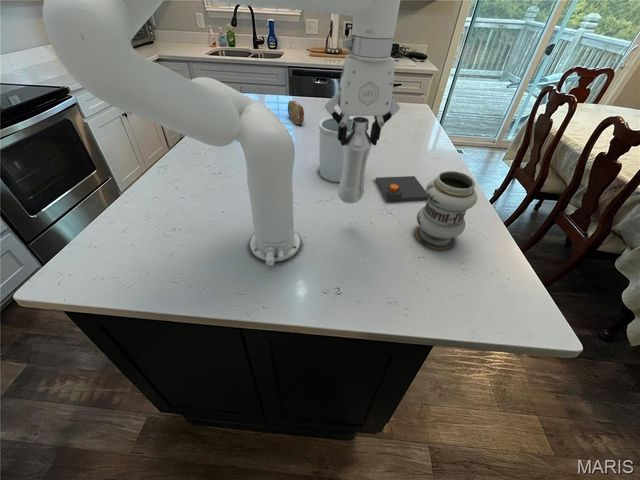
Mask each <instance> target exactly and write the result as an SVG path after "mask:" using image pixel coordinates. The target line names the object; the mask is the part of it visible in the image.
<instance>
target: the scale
mask: <svg viewBox="0 0 640 480" xmlns="http://www.w3.org/2000/svg"><path fill="white" fill-rule="evenodd" d="M374 181H375V183H376V184H377V187H378V189H379V192H380V193H381V194H382V196H383V198H384V200H385V202H386V203H393V202H394V203H395V202H417V201H418V202H419V201H427V200H428V197H427V195H426V189H425V188H424V187H423V185H422V184H421V183H420V182H419V180H418V179H417V178H416V176H415V175H410V176H409V175H408V176H381V177H380V176H379V177H375V180H374ZM391 184H396V185H398V191H397V192H391V191H389V189H390V185H391Z"/></svg>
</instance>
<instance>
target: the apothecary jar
mask: <svg viewBox="0 0 640 480" xmlns="http://www.w3.org/2000/svg"><path fill="white" fill-rule="evenodd" d="M475 187H476V181H475V180H474V178H473V177H471V176H470V175H468V174H466V173H464V172H461V171H455V170H447V171H442V172H440V173H439V174H437V177H436V178H435V179H433V180H431V181H429V183H428V184H427V185H426V188H425V191H426V195H427V197H428V200H426V202H425V205H424V206H423V207H422V208H420V209H419V210H418V212H417V213H416V214H417V215H416V222H417V225H418V227H417V228H416V231H415V236H416V239H417V240H418V241H419V242H420V243H422V244H425V246H426V247H428V248H432V249H434V250H445V249H448V248H450V247H451V246H452V245H453V243H454V238H456V237H458V236H460V235H462V233H464V231H465V230H466V220H465V215H466V212H467V211H468V210H469V209H471V208H473V207H474V206H475V205H476V203H477V202H478V193H477V191H476V189H475Z"/></svg>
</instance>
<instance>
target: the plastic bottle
mask: <svg viewBox="0 0 640 480" xmlns="http://www.w3.org/2000/svg"><path fill="white" fill-rule="evenodd" d="M353 117H354V118H353V119H352V125H351V129H352V130H351V131H350V132H349V134H348V135H347V136H346V143H345V145H344V146H343V155H344V160H343V172H342V177H341V181H340V182H339V183H338V189H337V193H338V194H337V195H338V197H339V199H340V201H342V202H343V203H346V204H356V203H359V202H360V201H361V200H362V198H363V196H364V193H365V186H364V185H365V184H364V183H365V172H366V167H367V162H368V158H369V155H370V153H371V149H372V146H373V144H372V143H371V139H370V134H369V133H368V131H369V123H370V119H369V118H367V117H365V116H353Z"/></svg>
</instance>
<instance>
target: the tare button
mask: <svg viewBox="0 0 640 480" xmlns="http://www.w3.org/2000/svg"><path fill="white" fill-rule="evenodd" d="M389 191H391V192H397V191H398V185H396V184H391V185H390V189H389Z"/></svg>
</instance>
